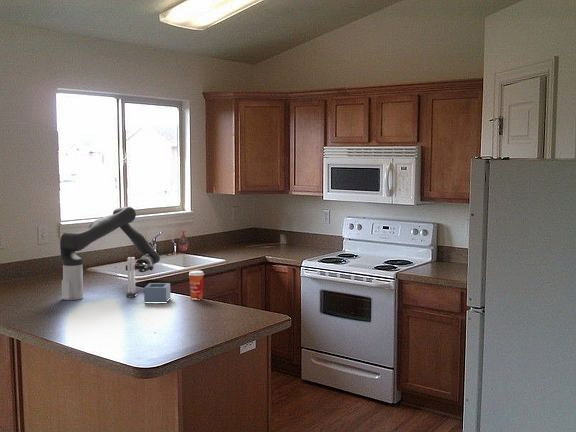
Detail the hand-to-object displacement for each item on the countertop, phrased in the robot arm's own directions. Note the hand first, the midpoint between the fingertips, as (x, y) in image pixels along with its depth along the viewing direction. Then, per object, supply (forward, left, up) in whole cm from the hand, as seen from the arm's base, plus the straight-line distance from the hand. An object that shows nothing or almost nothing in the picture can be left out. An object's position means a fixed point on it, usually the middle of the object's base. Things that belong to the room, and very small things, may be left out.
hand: (136, 269), depth 331 cm
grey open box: (-9, -25, -12) cm, 29 cm away
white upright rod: (-9, -6, -12) cm, 16 cm away
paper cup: (+6, -37, -12) cm, 40 cm away
